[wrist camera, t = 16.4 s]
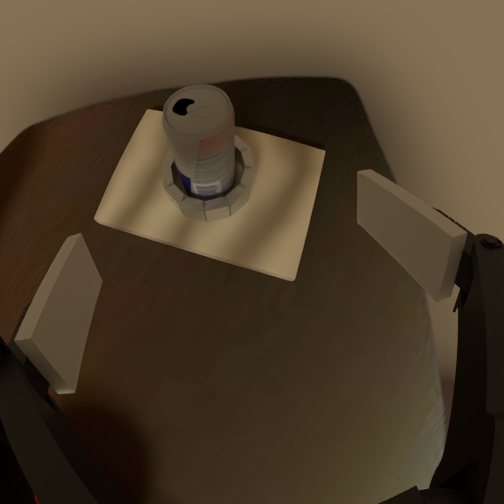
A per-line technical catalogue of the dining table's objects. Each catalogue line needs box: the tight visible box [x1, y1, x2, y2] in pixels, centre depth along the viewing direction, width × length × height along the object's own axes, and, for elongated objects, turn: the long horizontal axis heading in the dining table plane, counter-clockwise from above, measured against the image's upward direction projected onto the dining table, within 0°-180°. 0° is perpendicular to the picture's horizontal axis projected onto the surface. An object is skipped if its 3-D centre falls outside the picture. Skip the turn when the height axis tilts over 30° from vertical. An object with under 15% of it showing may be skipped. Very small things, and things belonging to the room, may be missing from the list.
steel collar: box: [161, 134, 256, 222], centre depth 30 cm, size 9×9×3 cm
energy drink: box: [162, 84, 235, 201], centre depth 26 cm, size 5×5×12 cm
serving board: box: [94, 109, 325, 281], centre depth 33 cm, size 22×15×2 cm
